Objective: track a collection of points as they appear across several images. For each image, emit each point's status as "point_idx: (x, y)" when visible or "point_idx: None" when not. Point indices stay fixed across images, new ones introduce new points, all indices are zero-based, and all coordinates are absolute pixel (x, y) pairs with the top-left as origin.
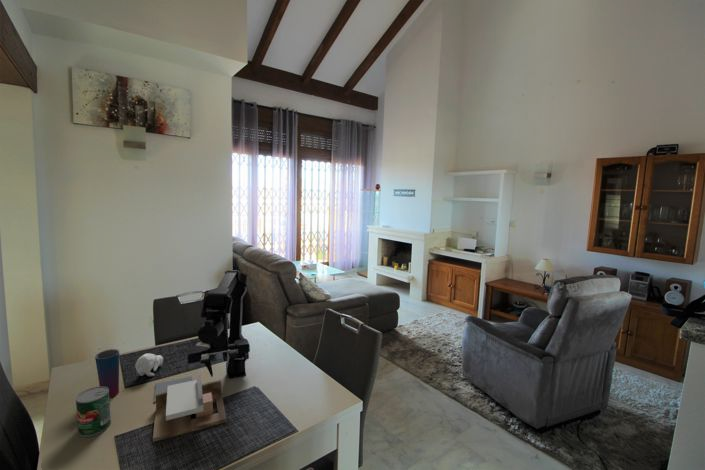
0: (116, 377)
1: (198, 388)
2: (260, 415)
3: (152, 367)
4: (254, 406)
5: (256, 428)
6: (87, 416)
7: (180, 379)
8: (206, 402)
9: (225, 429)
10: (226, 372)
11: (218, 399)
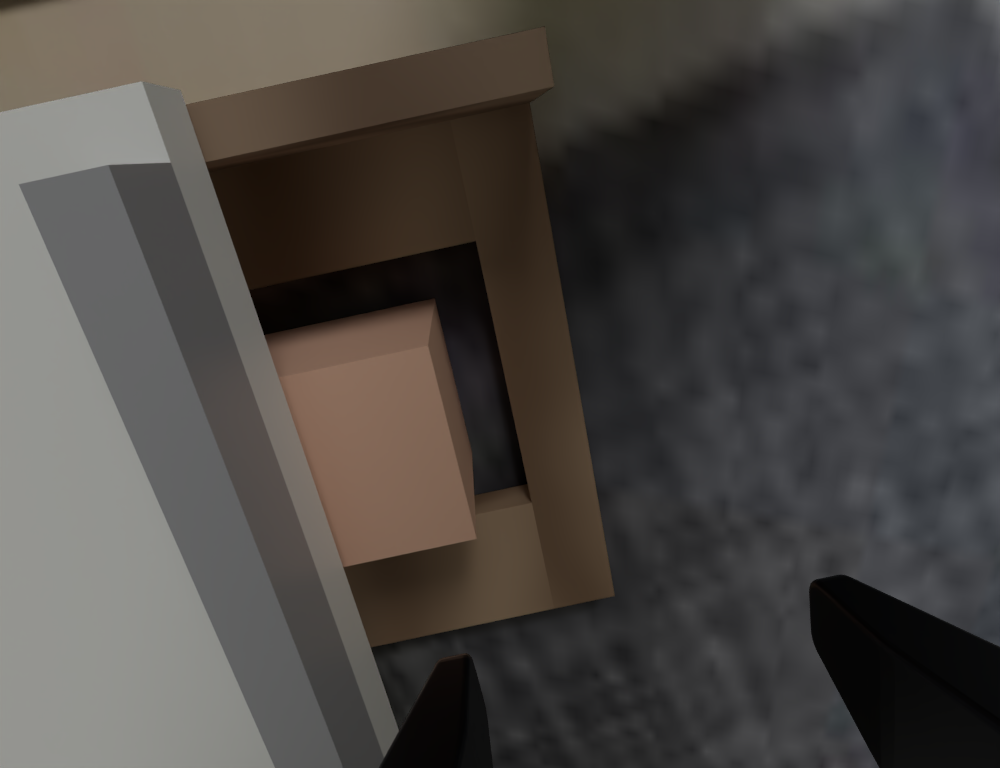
0: None
1: (238, 652)
2: (903, 539)
3: None
4: (878, 402)
5: None
6: None
7: None
8: (403, 551)
9: (601, 650)
10: (822, 638)
11: (508, 261)
